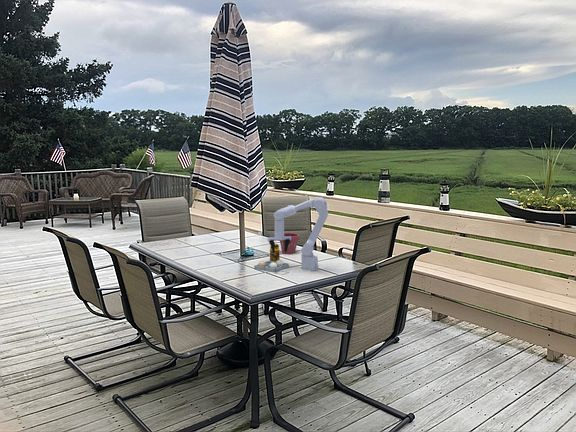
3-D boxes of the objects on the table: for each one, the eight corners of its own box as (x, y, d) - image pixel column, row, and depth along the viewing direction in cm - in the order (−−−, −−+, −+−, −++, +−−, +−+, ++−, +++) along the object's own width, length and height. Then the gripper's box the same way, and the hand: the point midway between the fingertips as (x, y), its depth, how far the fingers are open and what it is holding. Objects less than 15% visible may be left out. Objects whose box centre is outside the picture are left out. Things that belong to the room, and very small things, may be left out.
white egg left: (278, 269, 278) (278, 262, 277) (274, 271, 274) (274, 263, 273) (272, 268, 280) (272, 261, 279) (267, 270, 276) (267, 262, 275)
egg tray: (288, 268, 284) (288, 263, 284) (275, 274, 272) (275, 269, 271) (268, 265, 292) (268, 260, 291) (254, 270, 279) (254, 265, 279)
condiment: (276, 265, 292) (276, 246, 290) (265, 263, 296) (264, 244, 294) (282, 262, 298) (282, 244, 297) (271, 261, 303) (270, 242, 301)
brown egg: (268, 267, 279) (265, 260, 278) (262, 270, 277) (259, 264, 276) (264, 265, 283) (262, 258, 282) (258, 269, 281) (255, 262, 280)
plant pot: (303, 252, 325) (303, 234, 323) (287, 255, 316) (287, 237, 315) (290, 249, 336) (290, 231, 334) (274, 252, 328) (274, 234, 326)
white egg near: (284, 267, 283) (284, 259, 283) (280, 268, 280) (280, 261, 279) (278, 266, 286) (278, 258, 285) (274, 267, 282) (274, 260, 281)
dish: (289, 273, 272) (289, 272, 272) (283, 276, 267) (283, 274, 267) (280, 272, 275) (280, 270, 275) (274, 274, 270) (274, 273, 270)
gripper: (269, 231, 275) (269, 254, 277) (293, 230, 280) (293, 252, 282) (266, 229, 282) (266, 252, 284) (289, 228, 286) (289, 250, 288)
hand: (279, 252), depth 283 cm, fingers open, 7 cm apart
